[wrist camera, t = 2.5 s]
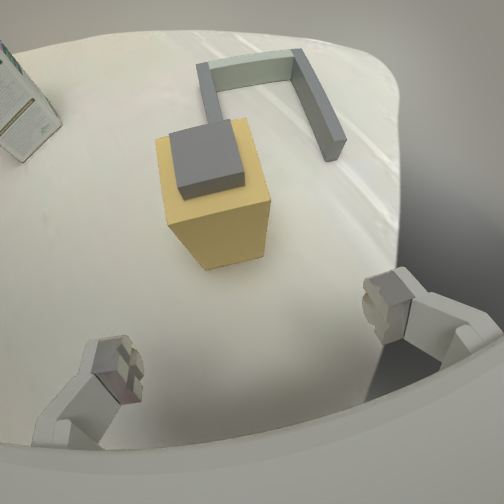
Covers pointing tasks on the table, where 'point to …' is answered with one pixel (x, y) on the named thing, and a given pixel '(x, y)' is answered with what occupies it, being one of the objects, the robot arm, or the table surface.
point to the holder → (271, 70)
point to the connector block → (215, 192)
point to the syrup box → (22, 110)
